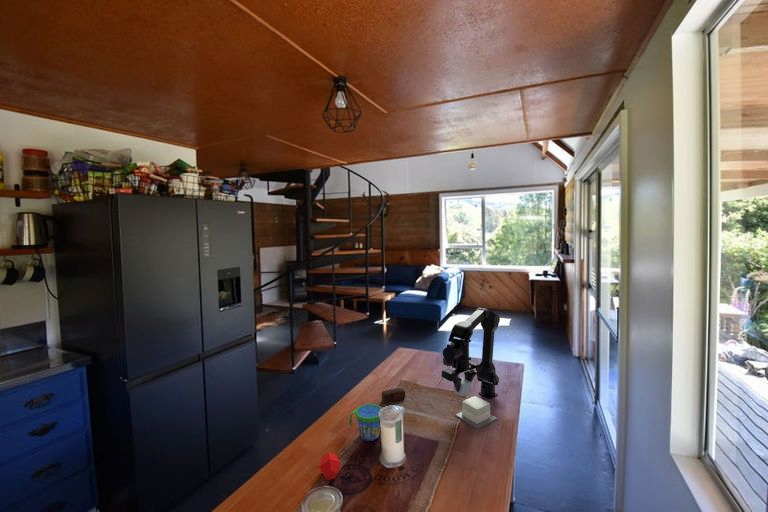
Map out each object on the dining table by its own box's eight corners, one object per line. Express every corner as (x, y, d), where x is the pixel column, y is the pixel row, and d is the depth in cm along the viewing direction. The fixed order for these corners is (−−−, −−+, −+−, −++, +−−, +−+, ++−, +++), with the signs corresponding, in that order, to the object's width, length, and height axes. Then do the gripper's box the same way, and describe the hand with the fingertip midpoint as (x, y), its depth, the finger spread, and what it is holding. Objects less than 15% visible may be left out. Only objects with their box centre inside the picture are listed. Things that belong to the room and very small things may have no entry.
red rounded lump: (340, 467, 102) (336, 444, 109) (319, 474, 101) (316, 450, 108) (344, 479, 105) (340, 456, 112) (323, 487, 104) (320, 463, 111)
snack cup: (393, 431, 129) (392, 406, 128) (385, 448, 119) (384, 421, 118) (356, 425, 134) (355, 401, 133) (345, 440, 124) (344, 414, 123)
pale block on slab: (474, 407, 146) (474, 392, 145) (497, 419, 136) (497, 404, 135) (455, 415, 139) (455, 400, 139) (477, 429, 129) (477, 413, 129)
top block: (462, 388, 143) (462, 377, 143) (470, 393, 139) (470, 381, 138) (453, 391, 140) (453, 380, 140) (462, 396, 136) (462, 384, 136)
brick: (385, 404, 149) (385, 395, 149) (381, 401, 153) (381, 391, 153) (405, 399, 154) (405, 389, 154) (401, 395, 158) (401, 386, 157)
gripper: (464, 344, 150) (464, 377, 151) (432, 353, 140) (433, 388, 141) (483, 351, 140) (483, 386, 142) (450, 361, 131) (451, 399, 132)
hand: (462, 389), depth 139 cm, fingers closed on top block, 5 cm apart
